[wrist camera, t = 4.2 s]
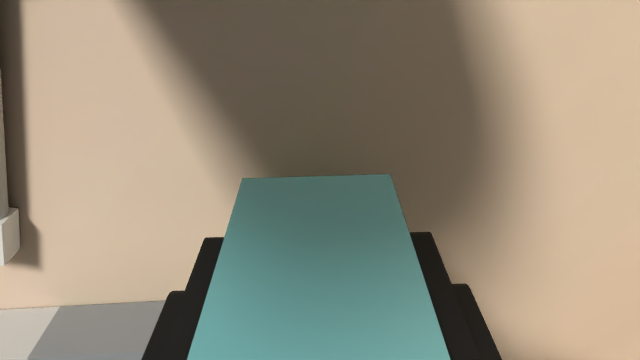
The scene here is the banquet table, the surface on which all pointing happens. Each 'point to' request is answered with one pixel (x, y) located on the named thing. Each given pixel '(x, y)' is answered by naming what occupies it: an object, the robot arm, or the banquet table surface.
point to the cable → (6, 205)
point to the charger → (318, 276)
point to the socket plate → (78, 331)
